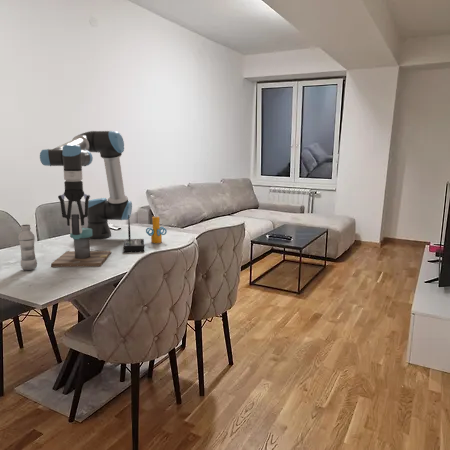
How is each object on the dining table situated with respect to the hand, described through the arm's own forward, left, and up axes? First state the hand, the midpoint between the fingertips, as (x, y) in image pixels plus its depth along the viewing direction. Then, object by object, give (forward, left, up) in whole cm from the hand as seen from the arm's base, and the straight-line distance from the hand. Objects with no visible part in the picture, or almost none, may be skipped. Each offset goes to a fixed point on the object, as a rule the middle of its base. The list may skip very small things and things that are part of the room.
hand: (76, 232), depth 176 cm
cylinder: (-46, +31, -16) cm, 58 cm away
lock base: (-10, -1, -16) cm, 19 cm away
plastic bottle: (+5, -20, -16) cm, 26 cm away
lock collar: (-7, 0, -4) cm, 8 cm away
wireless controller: (-33, +20, -16) cm, 42 cm away
